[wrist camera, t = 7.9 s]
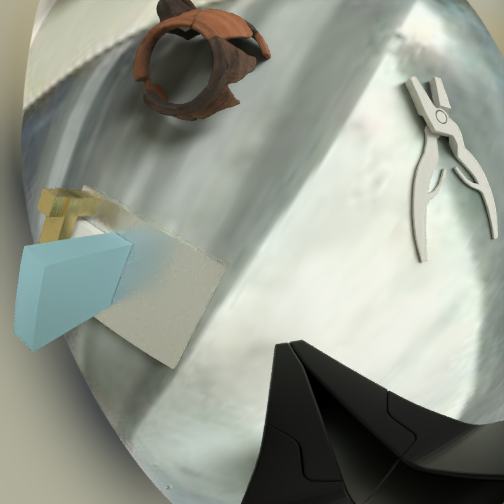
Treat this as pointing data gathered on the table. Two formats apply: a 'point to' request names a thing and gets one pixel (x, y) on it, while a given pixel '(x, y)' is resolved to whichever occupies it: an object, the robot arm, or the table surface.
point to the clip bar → (67, 282)
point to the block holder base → (142, 271)
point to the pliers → (434, 129)
